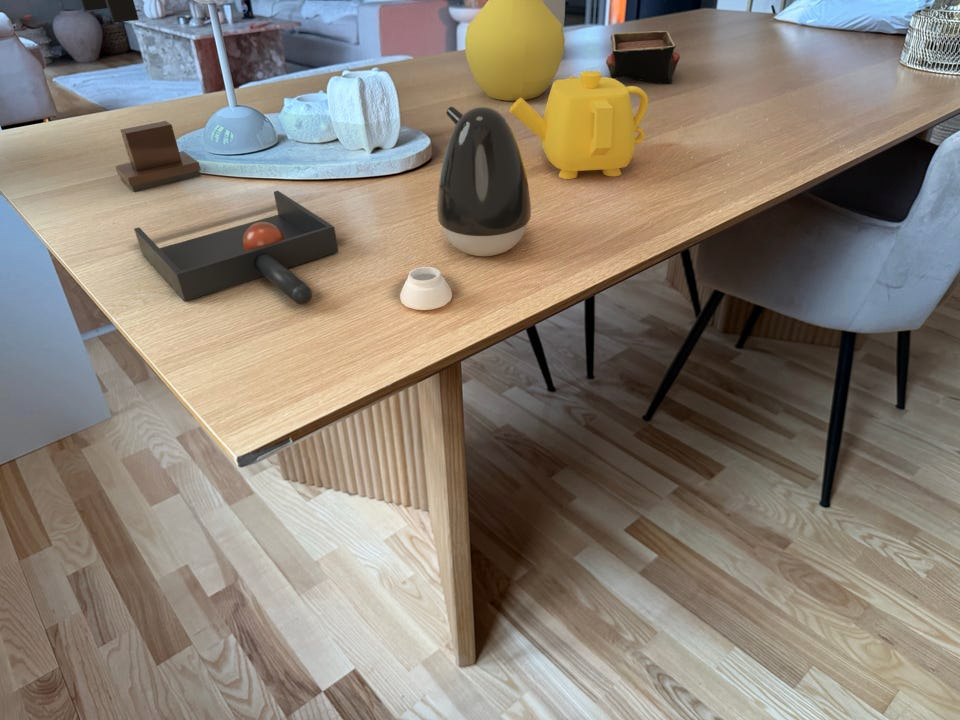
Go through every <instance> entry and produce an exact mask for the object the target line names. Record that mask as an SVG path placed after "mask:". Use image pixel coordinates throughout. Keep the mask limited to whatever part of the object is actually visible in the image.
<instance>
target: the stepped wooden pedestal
mask: <svg viewBox="0 0 960 720" xmlns="http://www.w3.org/2000/svg"><path fill="white" fill-rule="evenodd" d="M120 133H121V137H122V141H123V143H124V146H125V149H126V153H127V156H128V160H129V162H127V163H123V164H117V165H114V167H115V170H116V174H117V175H118V177H119V178H120V180H121V182H122V183H123V184H124V185H126V187H127V188H129V190H130V191H132V192H133V193H138V192H140V191H146V190H151V189H154V188H158V187H163V186H167V185H171V184H175V183H179V182H184V181H187V180H191V179H192V180H193V179H196V178H201V171H202V170H201V165H200V162H199V161H198V160H197V159H195V158H194V157H192V156H191V155H190V154H188V153H187V152H185V151H184V150H181V151H180V150H179V147H178V143H177V139H176V135H175V132H174V128H173V124H171V123H170V122H169V121H167V120H162V121H157V122H151V123H146V124H142V125H137V126H132V127H126V128H121V129H120Z"/></svg>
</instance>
